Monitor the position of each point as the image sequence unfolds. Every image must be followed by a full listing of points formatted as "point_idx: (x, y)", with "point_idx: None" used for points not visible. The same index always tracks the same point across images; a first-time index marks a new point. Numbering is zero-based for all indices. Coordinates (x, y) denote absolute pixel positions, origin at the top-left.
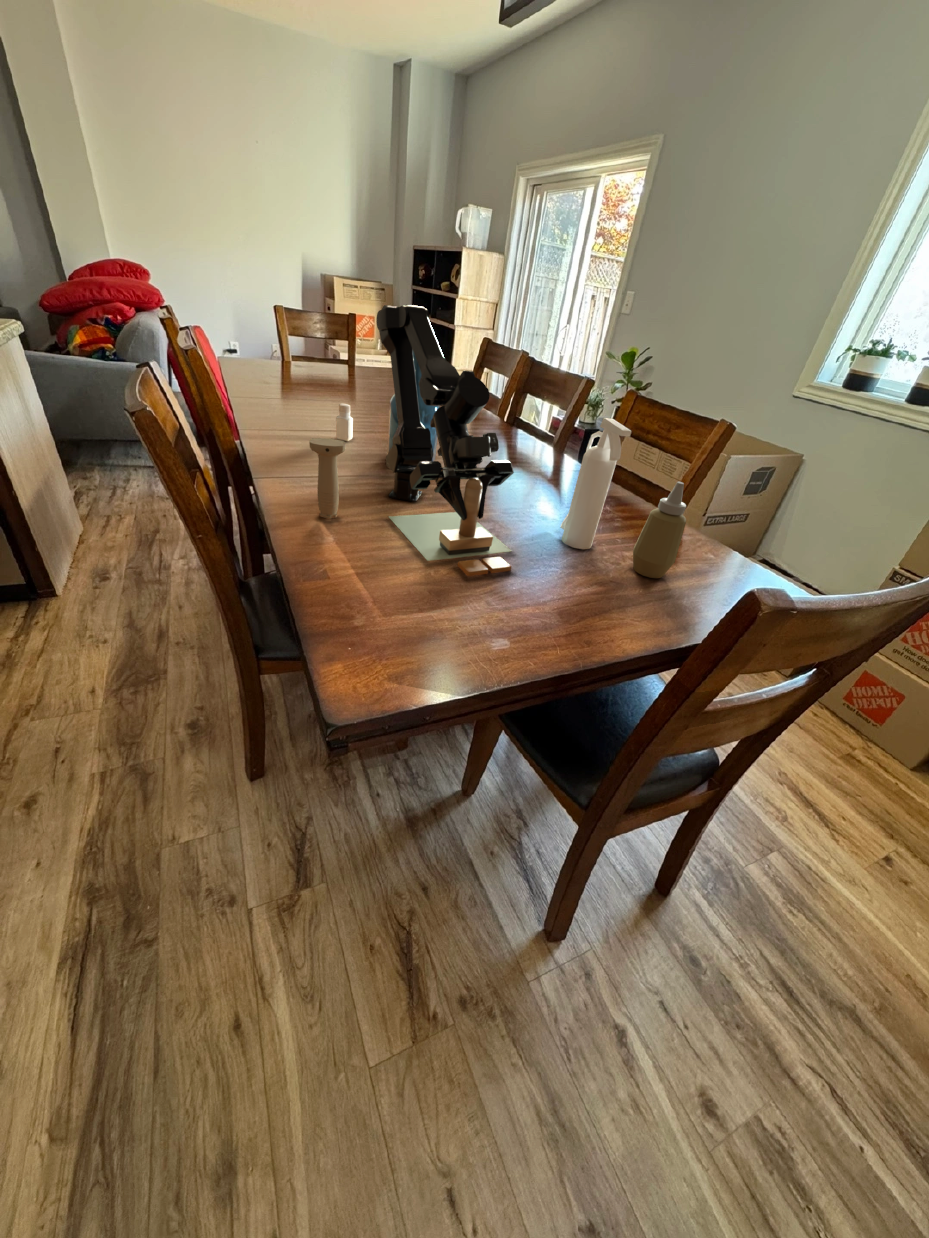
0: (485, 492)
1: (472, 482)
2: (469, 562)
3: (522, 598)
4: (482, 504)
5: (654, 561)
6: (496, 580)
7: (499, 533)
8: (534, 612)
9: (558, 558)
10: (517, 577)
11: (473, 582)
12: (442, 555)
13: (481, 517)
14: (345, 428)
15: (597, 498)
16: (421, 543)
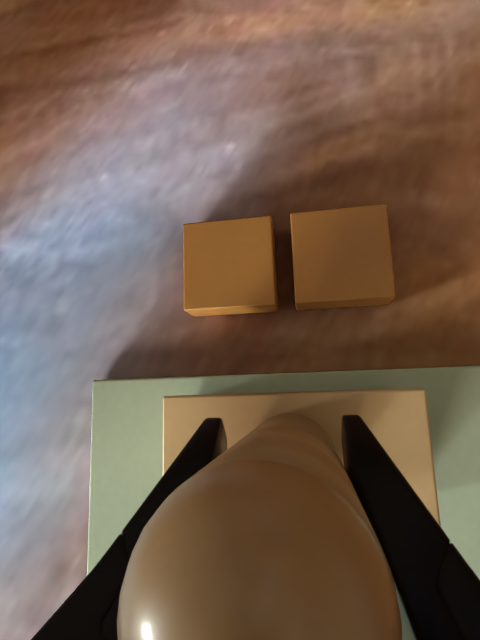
0: (77, 595)
1: (334, 586)
2: (347, 279)
3: (235, 87)
4: (175, 484)
5: None
6: (265, 204)
7: (35, 598)
8: (242, 13)
9: None
10: (177, 213)
11: (361, 201)
12: (428, 401)
13: (218, 419)
14: None
15: None
16: None
